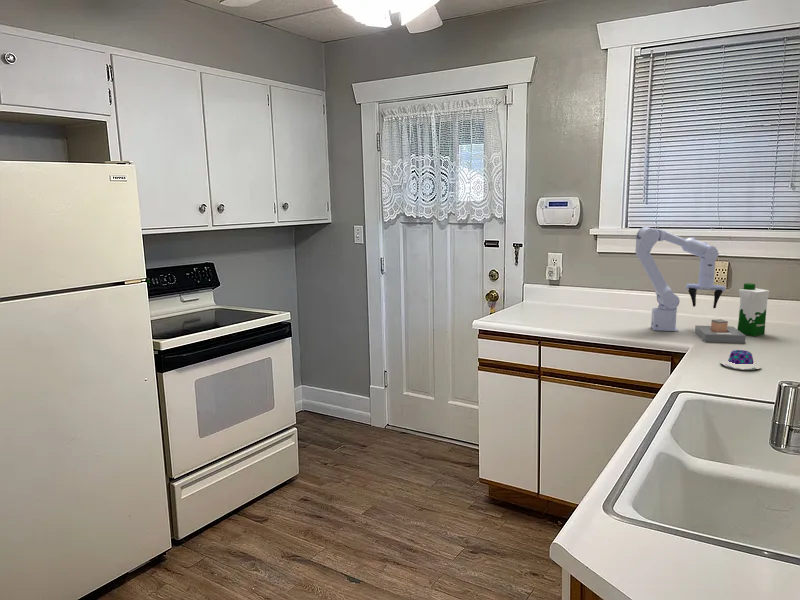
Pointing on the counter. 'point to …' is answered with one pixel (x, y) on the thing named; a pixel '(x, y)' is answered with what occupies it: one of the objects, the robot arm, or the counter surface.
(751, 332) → the milk carton
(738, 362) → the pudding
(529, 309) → the counter surface
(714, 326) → the tan rectangular block
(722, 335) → the outlet box
